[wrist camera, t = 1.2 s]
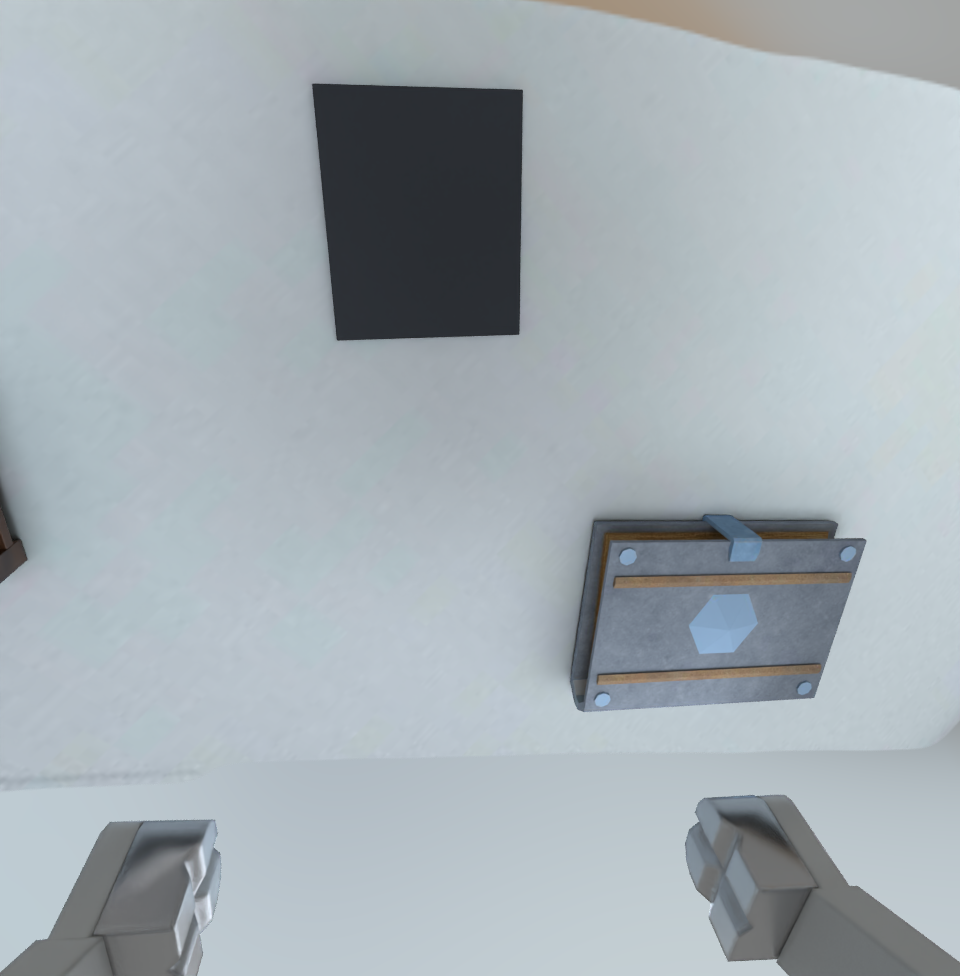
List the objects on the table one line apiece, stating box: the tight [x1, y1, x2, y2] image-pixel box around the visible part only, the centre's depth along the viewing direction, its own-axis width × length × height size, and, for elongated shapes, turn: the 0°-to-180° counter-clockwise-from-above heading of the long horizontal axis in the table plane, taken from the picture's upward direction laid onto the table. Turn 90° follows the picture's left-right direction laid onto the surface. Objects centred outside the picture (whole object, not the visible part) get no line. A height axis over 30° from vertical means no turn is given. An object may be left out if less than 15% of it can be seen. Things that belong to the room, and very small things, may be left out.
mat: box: [312, 84, 523, 340], centre depth 37 cm, size 14×12×1 cm
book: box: [570, 515, 866, 712], centre depth 49 cm, size 21×16×5 cm
